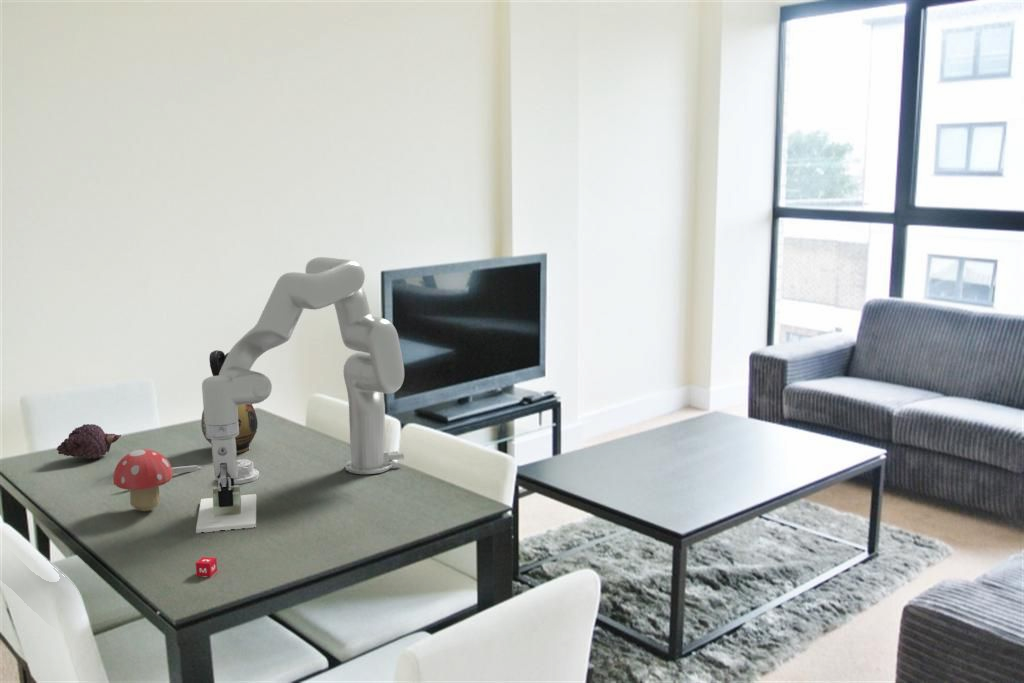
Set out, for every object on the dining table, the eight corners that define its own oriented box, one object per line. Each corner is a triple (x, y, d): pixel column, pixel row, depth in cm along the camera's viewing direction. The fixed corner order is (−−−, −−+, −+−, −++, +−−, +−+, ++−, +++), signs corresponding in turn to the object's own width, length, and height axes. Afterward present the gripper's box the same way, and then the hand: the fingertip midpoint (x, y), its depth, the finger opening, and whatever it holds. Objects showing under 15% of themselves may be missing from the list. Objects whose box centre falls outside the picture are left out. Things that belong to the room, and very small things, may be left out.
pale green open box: (241, 504, 230) (239, 485, 229) (240, 513, 225) (239, 493, 224) (215, 507, 229) (213, 487, 228) (213, 516, 223) (212, 495, 222)
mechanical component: (212, 484, 249) (248, 486, 247) (211, 468, 248) (247, 470, 246) (231, 472, 258) (265, 473, 257) (229, 456, 258) (264, 458, 256)
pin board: (256, 497, 238) (255, 476, 237) (256, 527, 219) (254, 504, 218) (201, 502, 235) (199, 481, 234) (196, 533, 216) (194, 510, 215)
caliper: (135, 491, 244) (133, 467, 243) (133, 490, 245) (131, 466, 244) (202, 469, 261) (200, 447, 260) (199, 468, 261) (198, 446, 260)
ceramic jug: (217, 441, 285) (210, 342, 280) (267, 443, 283) (261, 343, 278) (191, 459, 269) (183, 354, 263) (243, 461, 267) (236, 355, 261)
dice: (196, 576, 194) (195, 563, 193) (203, 570, 196) (202, 556, 196) (210, 577, 193) (209, 563, 193) (217, 571, 196) (216, 557, 195)
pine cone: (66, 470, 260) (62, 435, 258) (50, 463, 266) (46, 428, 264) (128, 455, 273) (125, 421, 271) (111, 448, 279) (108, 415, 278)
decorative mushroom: (105, 512, 229) (99, 452, 226) (157, 497, 239) (152, 439, 236) (134, 525, 221) (129, 463, 218) (186, 509, 231) (182, 449, 228)
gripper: (238, 438, 216) (242, 510, 219) (239, 418, 232) (244, 485, 235) (203, 440, 214) (208, 513, 217) (207, 420, 230) (212, 488, 234)
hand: (227, 499), depth 226 cm, fingers open, 9 cm apart
